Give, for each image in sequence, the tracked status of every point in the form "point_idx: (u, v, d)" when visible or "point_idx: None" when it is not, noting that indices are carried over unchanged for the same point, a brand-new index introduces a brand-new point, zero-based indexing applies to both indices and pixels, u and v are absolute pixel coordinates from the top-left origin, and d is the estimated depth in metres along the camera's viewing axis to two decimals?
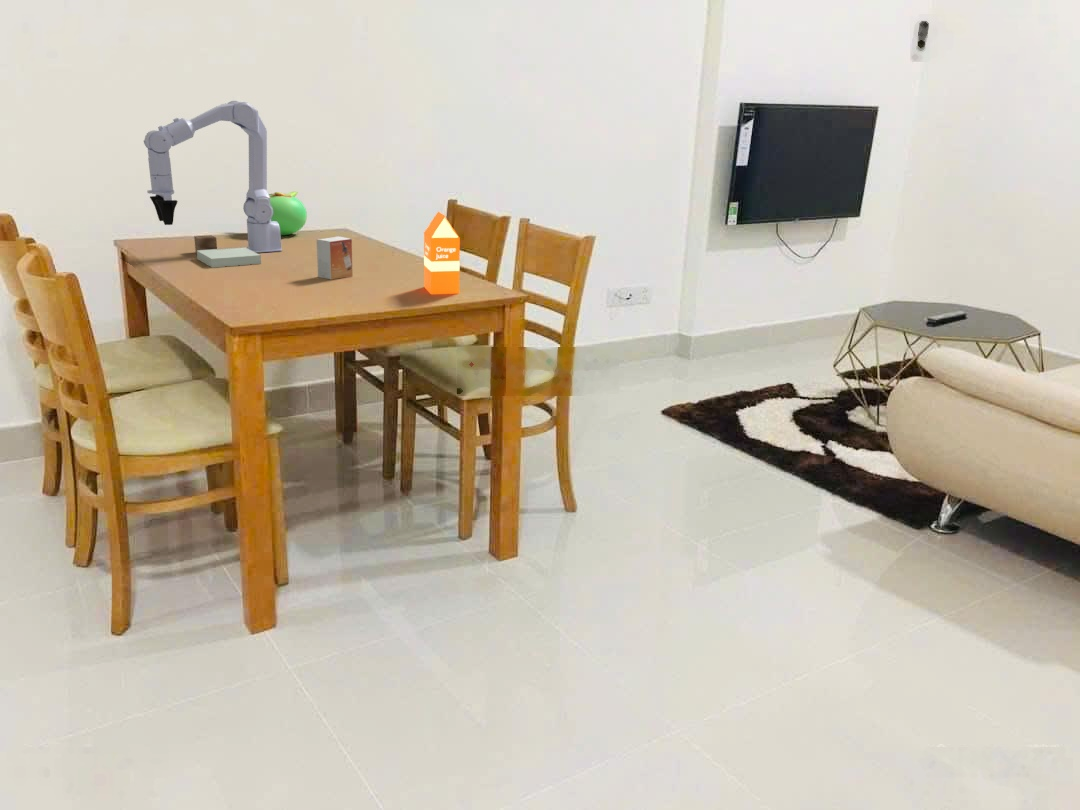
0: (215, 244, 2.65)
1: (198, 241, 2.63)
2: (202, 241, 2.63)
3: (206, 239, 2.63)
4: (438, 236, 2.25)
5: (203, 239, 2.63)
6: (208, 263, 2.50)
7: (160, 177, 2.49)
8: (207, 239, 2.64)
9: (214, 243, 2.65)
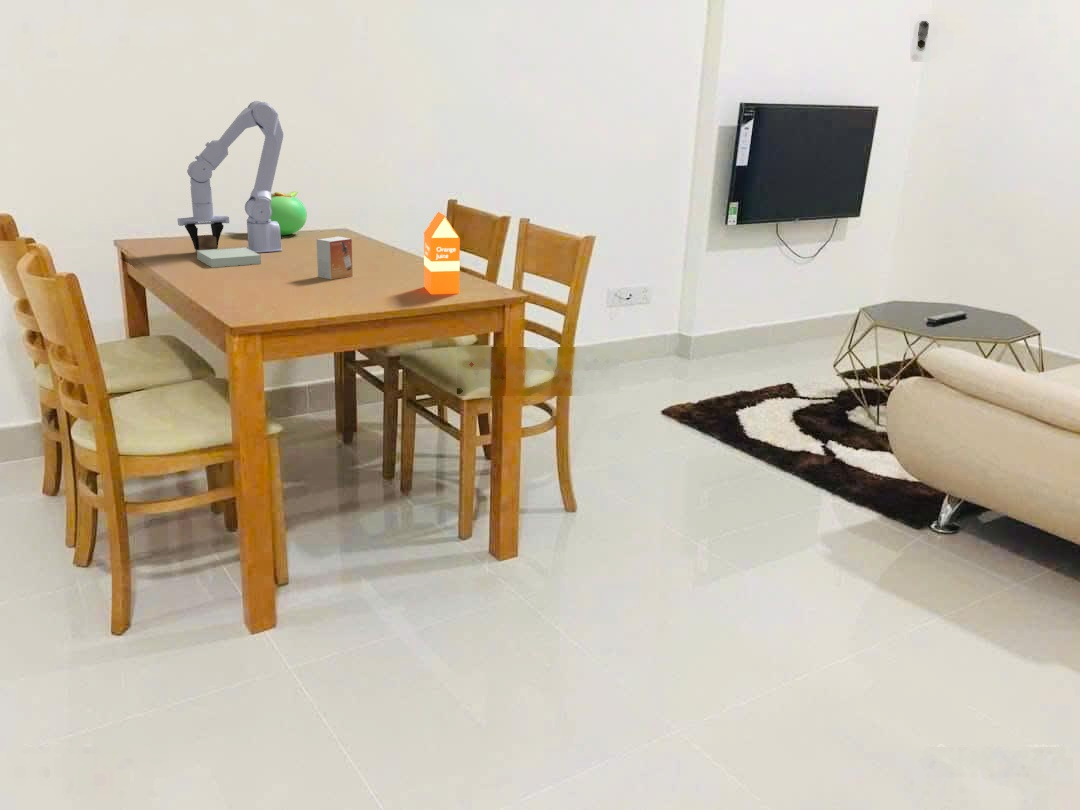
0: (215, 244, 2.65)
1: (198, 241, 2.63)
2: (202, 241, 2.63)
3: (206, 239, 2.63)
4: (438, 236, 2.25)
5: (203, 239, 2.63)
6: (208, 263, 2.50)
7: (192, 204, 2.61)
8: (207, 239, 2.64)
9: (214, 243, 2.65)
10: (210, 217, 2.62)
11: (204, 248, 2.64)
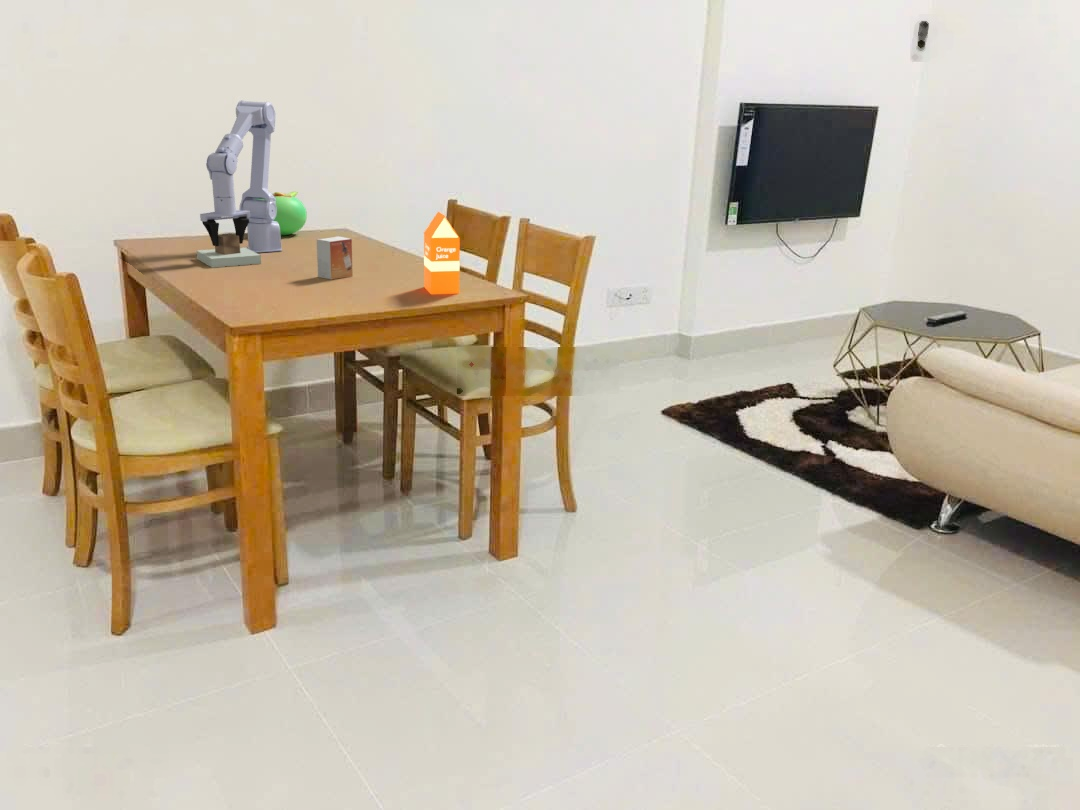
0: (238, 242, 2.55)
1: (221, 240, 2.52)
2: (226, 240, 2.52)
3: (230, 237, 2.53)
4: (438, 236, 2.25)
5: (227, 237, 2.52)
6: (208, 263, 2.50)
7: (214, 198, 2.49)
8: (230, 237, 2.53)
9: (237, 241, 2.55)
10: (234, 211, 2.51)
11: (228, 247, 2.53)
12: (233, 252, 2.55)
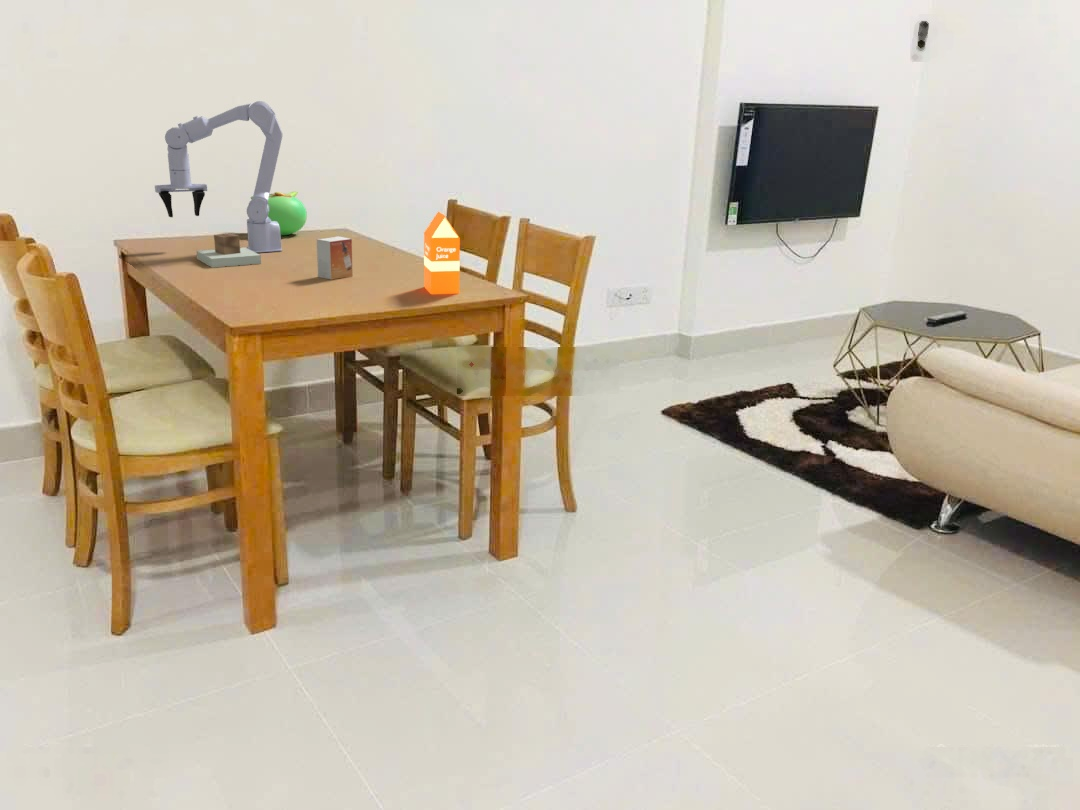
0: (238, 242, 2.55)
1: (221, 240, 2.52)
2: (226, 240, 2.52)
3: (230, 237, 2.53)
4: (438, 236, 2.25)
5: (227, 237, 2.52)
6: (208, 263, 2.50)
7: (169, 171, 2.60)
8: (230, 237, 2.53)
9: (237, 241, 2.55)
10: (187, 184, 2.61)
11: (228, 247, 2.53)
12: (233, 252, 2.55)
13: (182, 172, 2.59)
